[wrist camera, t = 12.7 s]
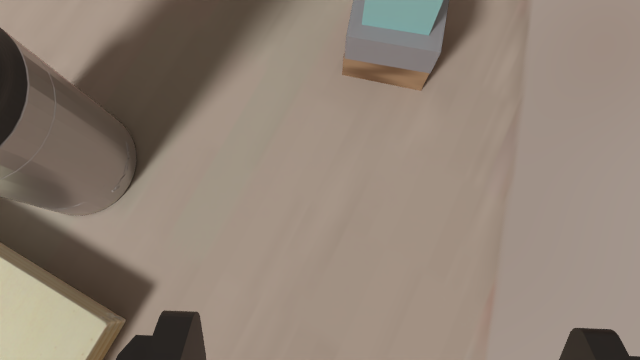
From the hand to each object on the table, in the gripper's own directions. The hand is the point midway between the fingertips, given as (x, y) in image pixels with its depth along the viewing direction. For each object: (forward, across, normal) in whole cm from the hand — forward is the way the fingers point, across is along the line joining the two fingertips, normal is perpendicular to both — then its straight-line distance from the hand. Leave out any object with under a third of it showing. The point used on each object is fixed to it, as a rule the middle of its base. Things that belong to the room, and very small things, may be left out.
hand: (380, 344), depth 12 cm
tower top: (+36, -4, +5) cm, 37 cm away
